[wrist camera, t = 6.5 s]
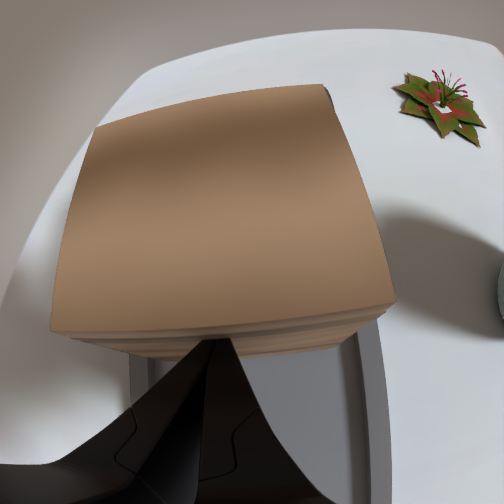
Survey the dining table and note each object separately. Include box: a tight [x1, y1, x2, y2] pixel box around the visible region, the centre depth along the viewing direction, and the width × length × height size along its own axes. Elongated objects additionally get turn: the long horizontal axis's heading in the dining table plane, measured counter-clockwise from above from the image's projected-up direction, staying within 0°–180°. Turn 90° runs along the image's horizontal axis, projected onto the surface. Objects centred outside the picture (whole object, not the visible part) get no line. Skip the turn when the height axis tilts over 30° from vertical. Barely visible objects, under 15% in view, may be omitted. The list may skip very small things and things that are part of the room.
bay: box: [129, 86, 392, 504], centre depth 12 cm, size 24×14×9 cm, turn 5°
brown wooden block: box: [50, 84, 396, 362], centre depth 13 cm, size 8×9×10 cm
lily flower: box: [394, 70, 486, 148], centre depth 22 cm, size 12×12×5 cm
